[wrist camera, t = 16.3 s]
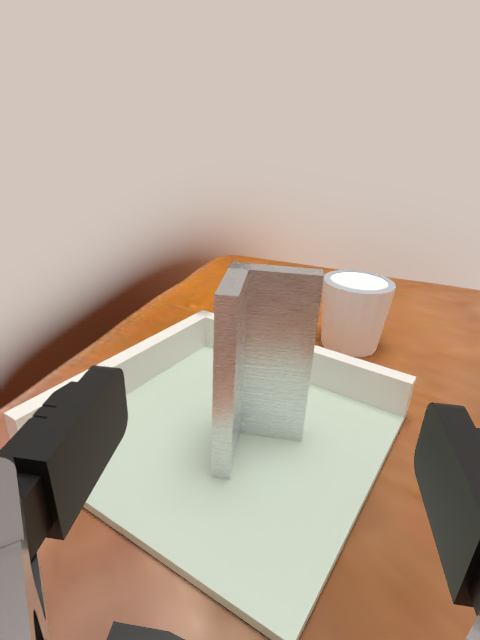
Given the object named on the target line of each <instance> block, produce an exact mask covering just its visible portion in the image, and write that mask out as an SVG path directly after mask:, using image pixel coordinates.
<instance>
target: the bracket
mask: <svg viewBox="0 0 480 640" xmlns="http://www.w3.org/2000/svg"><path fill="white" fill-rule="evenodd" d="M323 278H324V274H323V269H311V268H299V267H287V266H275V265H263V264H251V263H239V262H231V264H230V266H229V268H228V270H227V272H226V274H225V275H224V277H223V279H222V281H221V283H220V285H219V287H218V289H217V290H216V292H215V294H214V343H213V394H212V445H211V477H214V478H221V479H228V480H230V479H231V474H232V469H233V464H234V460H235V455H236V450H237V445H238V441H239V436H240V434H246V435H254V436H262V437H270V438H277V439H285V440H293V441H301V442H302V437H303V429H304V422H305V414H306V407H307V399H308V391H309V384H310V376H311V369H312V361H313V354H314V346H315V339H316V331H317V323H318V316H319V308H320V301H321V293H322V286H323Z"/></svg>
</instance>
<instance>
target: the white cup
mask: <svg viewBox="0 0 480 640" xmlns="http://www.w3.org/2000/svg"><path fill="white" fill-rule="evenodd" d="M395 289H396V287H395V283H394V282H392V281H391V280H390V279H388V278H386V277H383V276H381V275H377V274H374V273H370V272H364V271H357V270H338V271H331V272H329V273H327V274H325V275H324V278H323V300H322V328H321V343H322V344H323V346H324V347H325V348H326V349H329V350H332V351H335V352H338V353H342V354H345V355H348V356H351V357H366V356H369V355H372V354H373V353H374V352H375V351H376V349H377V346H378V343H379V340H380V337H381V333H382V330H383V327H384V324H385V321H386V317H387V314H388V311H389V308H390V305H391V302H392V298H393V295H394V292H395Z"/></svg>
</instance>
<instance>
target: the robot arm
mask: <svg viewBox="0 0 480 640" xmlns="http://www.w3.org/2000/svg"><path fill="white" fill-rule="evenodd" d="M127 422H128V409H127V399H126V390H125V380H124V373H123V371H122V369H121V368H114V367H105V366H96V365H94V366H91V367H90V368H89V369H88V371H87V372H86V373H85V374H84V375H83V376H82V378H81V379H80V380H79V381H78V382H73V381H71V382H69V383H68V384H66V385H64V386H63V387H61V388H59V389H58V390H56V391H54V392H53V393H52V394H51V396H50V397H49V398H48V399H47V400H46V401H45V402H44V403H43V404H42V407H39V409H38V410H37V411H36V412H35V413H34V414H33V417H32V418H29V419H28V421H27V422H26V423H25V424H24V425H23V426H22V427H21V428H20V429H19V430H18V431H17V433H16V434H15V435H14V436H13V437H12V438H11V439H10V440H9V441H8V442H7V443H6V445H5V446H4V447H3V448H2V449H1V450H0V640H51V634H50V628H49V621H48V614H47V607H46V601H45V594H44V587H43V580H42V573H41V566H40V559H39V554H38V549H39V547H40V546H41V544H42V542H43V541H44V539H45V538H46V537H47V538H53V539H60V540H64V539H65V537H66V535H67V534H68V532H69V530H70V529H71V527H72V525H73V523H74V522H75V520H76V518H77V516H78V515H79V513H80V511H81V509H82V508H83V506H84V504H85V502H86V501H87V499H88V497H89V496H90V494H91V492H92V490H93V489H94V487H95V485H96V483H97V482H98V480H99V478H100V476H101V475H102V473H103V471H104V469H105V468H106V466H107V464H108V462H109V461H110V459H111V457H112V456H113V454H114V452H115V450H116V449H117V447H118V445H119V443H120V442H121V440H122V438H123V436H124V434H125V431H126V428H127ZM414 468H415V474H416V478H417V482H418V485H419V488H420V492H421V495H422V499H423V502H424V505H425V509H426V512H427V516H428V519H429V522H430V526H431V529H432V533H433V536H434V539H435V543H436V546H437V550H438V553H439V557H440V560H441V563H442V567H443V570H444V574H445V577H446V580H447V584H448V587H449V591H450V594H451V597H452V601H453V604H457V605H463V606H469V607H474V609H475V612H476V615H477V618H476V620H475V622H474V624H473V626H472V628H471V630H470V632H469V634H468V636H467V638H466V640H480V428H476V427H475V425H474V423H473V422H472V420H471V418H470V416H469V414H468V412H467V410H466V409H465V407H464V406H459V405H450V404H441V403H430V404H429V405H428V406H427V409H426V412H425V416H424V420H423V423H422V427H421V431H420V434H419V438H418V442H417V445H416V449H415V456H414ZM107 640H184V639H182V638H180V637H179V636H177V635H175V634H173V633H171V632H169V631H163V630H157V629H152V628H146V627H141V626H135V625H130V624H124V623H119V622H113V624H112V627H111V630H110V632H109V635H108V637H107Z"/></svg>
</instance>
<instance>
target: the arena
mask: <svg viewBox="0 0 480 640" xmlns="http://www.w3.org/2000/svg"><path fill="white" fill-rule="evenodd" d="M213 343H214V313H211V312H208V311H205V310H202V311H200V312H198V313H196V314H194V315H192V316H190V317H188V318H186V319H184V320H183V321H181V322H179V323H177V324H175V325H173V326H171V327H169V328H167V329H165V330H163V331H161V332H159V333H157V334H156V335H154V336H152V337H150V338H148V339H146V340H144V341H142V342H140V343H138V344H136V345H134V346H132V347H130V348H128V349H127V350H125V351H123V352H121V353H119V354H117V355H115V356H113V357H111V358H109V359H107V360H105V361H103V362H101V363H99V364H98V365H96V366H105V367H114V368H121V369H122V371H123V373H124V380H125V390H126V399H127V409H128V422H127V428H126V431H125V434H124V436H123V438H122V440H121V442H120V443H119V445H118V447H117V449H116V450H115V452H114V454H113V456H112V457H111V459H110V461H109V462H108V464H107V466H106V468H105V469H104V471H103V473H102V475H101V476H100V478H99V480H98V482H97V483H96V485H95V487H94V489H93V490H92V492H91V494H90V496H89V497H88V499H87V501H86V502H85V504H84V506H83V507H84V508H85V509H87V510H88V511H90V512H91V513H92V514H94V515H95V516H97V517H98V518H99V519H101V520H102V521H104V522H105V523H107V524H108V525H109V526H111V527H112V528H114V529H115V530H116V531H118V532H119V533H121V534H122V535H123V536H125V537H126V538H128V539H129V540H131V541H132V542H133V543H135V544H136V545H138V546H139V547H140V548H142V549H143V550H145V551H146V552H148V553H149V554H150V555H152V556H153V557H155V558H156V559H157V560H159V561H160V562H162V563H163V564H165V565H166V566H167V567H169V568H170V569H172V570H173V571H174V572H176V573H177V574H179V575H180V576H182V577H183V578H184V579H186V580H187V581H189V582H190V583H191V584H193V585H194V586H196V587H197V588H199V589H200V590H201V591H203V592H204V593H206V594H207V595H208V596H210V597H211V598H213V599H214V600H215V601H217V602H218V603H220V604H221V605H223V606H224V607H225V608H227V609H228V610H230V611H231V612H232V613H234V614H235V615H237V616H238V617H240V618H241V619H242V620H244V621H245V622H247V623H248V624H249V625H251V626H252V627H254V628H255V629H257V630H258V631H259V632H261V633H262V634H264V635H265V636H266V637H268V638H269V639H271V640H299V638H300V636H301V634H302V632H303V630H304V627H305V625H306V623H307V621H308V619H309V617H310V615H311V613H312V611H313V609H314V607H315V605H316V603H317V600H318V598H319V596H320V594H321V592H322V590H323V588H324V586H325V584H326V582H327V580H328V578H329V576H330V574H331V571H332V569H333V567H334V565H335V563H336V561H337V559H338V557H339V555H340V553H341V551H342V549H343V547H344V545H345V542H346V540H347V538H348V536H349V534H350V532H351V530H352V528H353V526H354V524H355V522H356V520H357V518H358V516H359V513H360V511H361V509H362V507H363V505H364V503H365V501H366V499H367V497H368V495H369V493H370V491H371V489H372V486H373V484H374V482H375V480H376V478H377V476H378V474H379V472H380V470H381V468H382V466H383V464H384V462H385V460H386V457H387V455H388V453H389V451H390V449H391V447H392V445H393V443H394V441H395V439H396V437H397V435H398V433H399V431H400V428H401V426H402V424H403V422H404V420H405V418H406V416H407V412H408V408H409V404H410V400H411V396H412V392H413V389H414V385H415V381H416V377H415V376H412V375H408V374H405V373H402V372H399V371H396V370H392V369H389V368H386V367H383V366H380V365H377V364H373V363H370V362H367V361H364V360H361V359H358V358H354V357H351V356H348V355H345V354H342V353H338V352H335V351H332V350H329V349H326V348H323V347H319V346H316V345H315V346H314V354H313V361H312V369H311V376H310V384H309V391H308V399H307V407H306V414H305V422H304V429H303V437H302V442H301V441H293V440H285V439H277V438H270V437H262V436H254V435H246V434H240V436H239V441H238V445H237V450H236V455H235V460H234V464H233V469H232V474H231V479H230V480H228V479H221V478H214V477H211V445H212V394H213ZM87 371H88V370H86V371H84V372H82V373H80V374H78V375H76V376H74V377H72V378H70V379H69V380H67V381H65V382H63V383H61V384H59V385H57V386H55V387H53V388H51V389H49V390H47V391H45V392H43V393H41V394H40V395H38V396H36V397H34V398H32V399H30V400H28V401H26V402H24V403H22V404H20V405H18V406H16V407H14V408H12V409H11V410H9V411H7V412H5V413H4V416H5V420H6V425H7V429H8V433H9V438H10V439H11V438H12V437H13V436H14V435H15V434H16V433H17V431H18V430H19V429H20V428H21V427H22V426H23V425H24V424H25V423H26V422H27V421H28V419H29V418H32V417H33V414H34V413H35V412H36V411H37V410H38V409H39V407H42V404H43V403H44V402H45V401H46V400H47V399H48V398H49V397H50V396H51V394H52V393H53V392H54V391H56V390H58V389H59V388H61V387H63V386H64V385H66V384H68V383H69V382H71V381H73V382H78V381H79V380H80V379H81V378H82V376H83V375H84V374H85V373H86V372H87Z"/></svg>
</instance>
